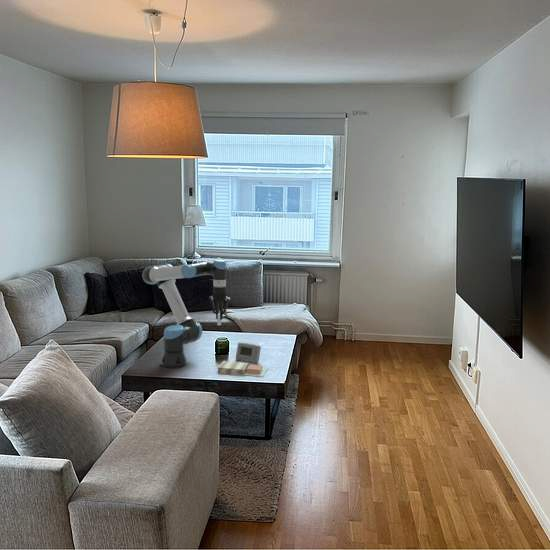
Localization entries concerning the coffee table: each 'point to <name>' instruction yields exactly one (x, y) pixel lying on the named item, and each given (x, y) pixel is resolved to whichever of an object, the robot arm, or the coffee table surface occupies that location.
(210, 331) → the coffee table surface
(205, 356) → the coffee table surface
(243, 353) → the digital clock
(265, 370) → the sage mat
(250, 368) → the terracotta tile
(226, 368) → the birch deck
